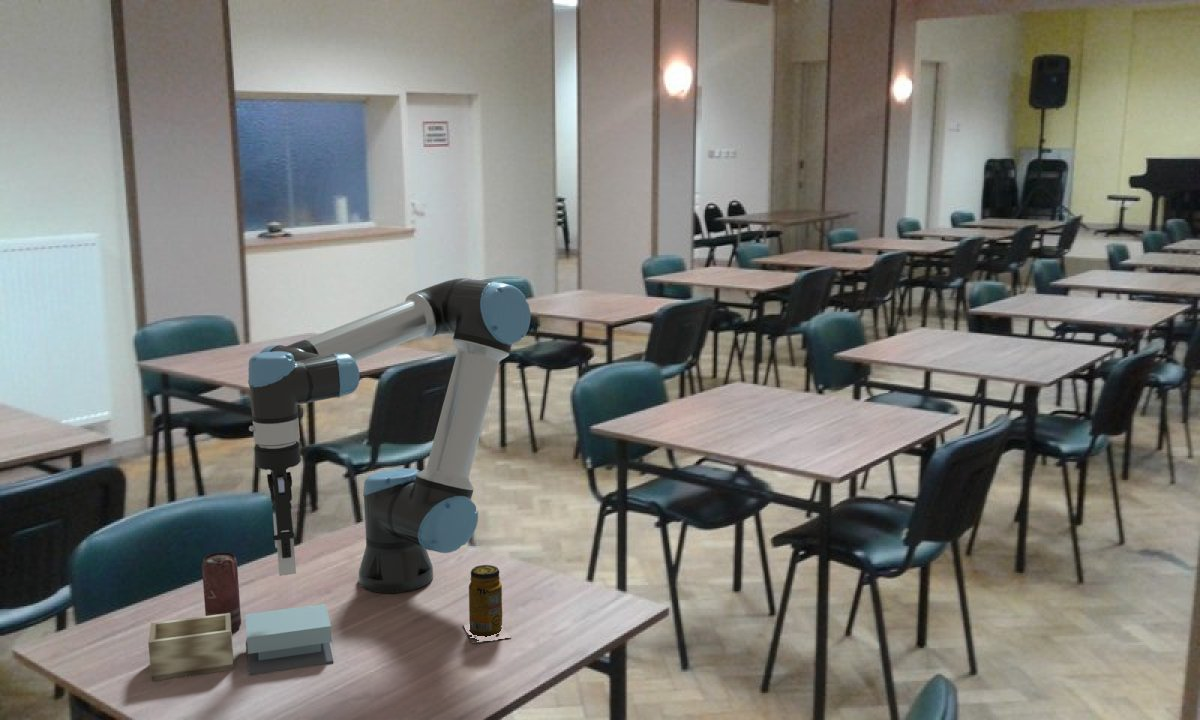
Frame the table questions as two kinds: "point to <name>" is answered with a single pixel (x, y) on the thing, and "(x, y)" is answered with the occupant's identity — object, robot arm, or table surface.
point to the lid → (288, 631)
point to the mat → (289, 661)
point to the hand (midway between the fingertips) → (285, 559)
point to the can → (222, 587)
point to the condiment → (485, 602)
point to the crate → (190, 646)
